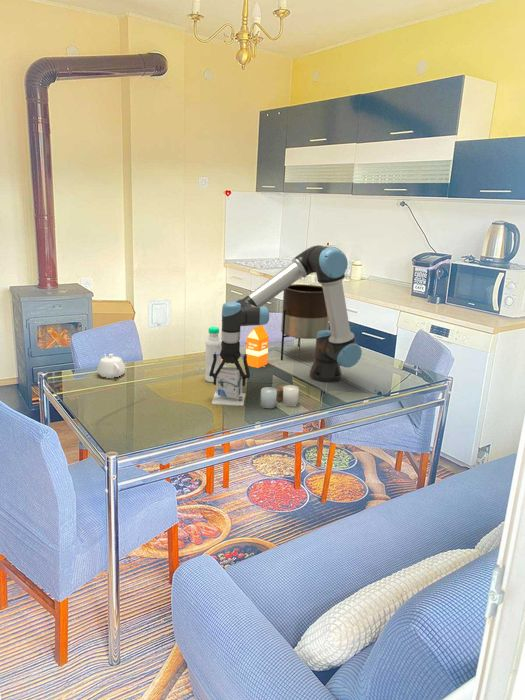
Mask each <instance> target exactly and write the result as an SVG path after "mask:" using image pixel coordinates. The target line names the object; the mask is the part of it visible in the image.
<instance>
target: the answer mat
mask: <svg viewBox="0 0 525 700" xmlns="http://www.w3.org/2000/svg"><path fill="white" fill-rule="evenodd" d="M245 399H246V393H243V392H242V395H240V396H239V397H237V398H231V397H225V396H220V395H218V393H216V391H215V392H214V395H213V398H212V400H211V406H227V407H228V406H229V407H230V406H231V407H244V405H245Z"/></svg>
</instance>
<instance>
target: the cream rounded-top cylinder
mask: <svg viewBox="0 0 525 700" xmlns="http://www.w3.org/2000/svg"><path fill="white" fill-rule="evenodd" d="M283 386H284V387H283V401H281V402H282V403H281V404H282V405H283V404H285V405H288V406H287V407H290V406H293V407H295V406H294V405H297V404H299V391H300V388H299V386H296V385H292V384H286V385H283ZM285 405H284V406H285ZM297 406H298V405H297Z"/></svg>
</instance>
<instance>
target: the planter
mask: <svg viewBox="0 0 525 700" xmlns="http://www.w3.org/2000/svg"><path fill="white" fill-rule="evenodd" d="M281 314H282V315H281V324H280V325H281V327H280V329H281V330H280V331H281V333H282V335H281V350H280V361H283V360H284V344H285V338H289V337H290V338H296V339H298V342H297V348H298V347H300V345H301V339H303V340H304V339H308V340H310V339H311V340H312V339H313V340H314V339H315V340H316V336H317V333H318V332H319V331H321V330H330V326H329V320H328V315H327V309H326V304H325V298H324V293H323V287H322V285H314V284H301V283H300V284H291V285H290V286H289V287H287V288H286V289H285V290H283V298H282V312H281Z"/></svg>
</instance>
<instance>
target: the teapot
mask: <svg viewBox="0 0 525 700" xmlns="http://www.w3.org/2000/svg"><path fill="white" fill-rule="evenodd" d="M96 370H97V373H98V375H99V376H101V377H102V376H103V377H109V378H110V377H111V378H112V379H114V378H113V377H118V378H120V377H122V376H123V375H124V373H125V372H126V365H125V363H124V361H123V359H122V358H121V357H120V356H114V354H113V353H109V354H108V356H107V354H106V353H103V357H102V358H101V359H100V360H99V362H98V365H97V369H96ZM121 375H122V376H121ZM119 376H120V377H119ZM103 377H102V378H103Z"/></svg>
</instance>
